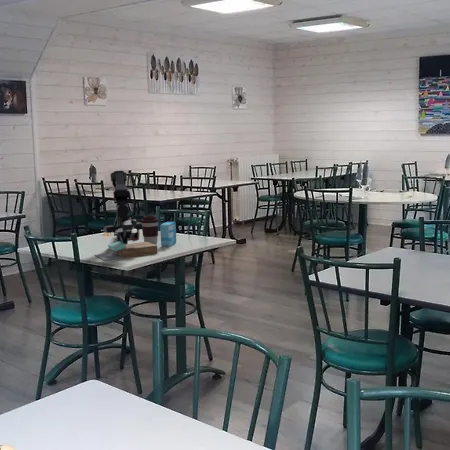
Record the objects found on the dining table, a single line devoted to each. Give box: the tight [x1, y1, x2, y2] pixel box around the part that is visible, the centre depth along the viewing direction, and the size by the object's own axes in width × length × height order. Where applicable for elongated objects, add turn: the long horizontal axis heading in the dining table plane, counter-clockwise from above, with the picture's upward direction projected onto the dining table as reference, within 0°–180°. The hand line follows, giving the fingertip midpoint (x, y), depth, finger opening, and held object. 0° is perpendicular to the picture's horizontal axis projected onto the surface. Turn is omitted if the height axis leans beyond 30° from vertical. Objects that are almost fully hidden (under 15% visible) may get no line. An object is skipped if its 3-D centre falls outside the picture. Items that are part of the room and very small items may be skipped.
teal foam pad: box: [107, 241, 126, 252], centre depth 299 cm, size 9×6×2 cm, turn 30°
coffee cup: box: [140, 215, 160, 245], centre depth 330 cm, size 10×10×15 cm
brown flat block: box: [113, 241, 159, 259], centre depth 304 cm, size 14×18×4 cm
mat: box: [94, 251, 125, 262], centre depth 298 cm, size 16×10×1 cm, turn 29°
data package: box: [159, 221, 177, 248], centre depth 324 cm, size 12×4×12 cm, turn 165°
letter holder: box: [127, 217, 140, 241], centre depth 352 cm, size 10×20×14 cm, turn 7°
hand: (124, 244), depth 301 cm, fingers closed
